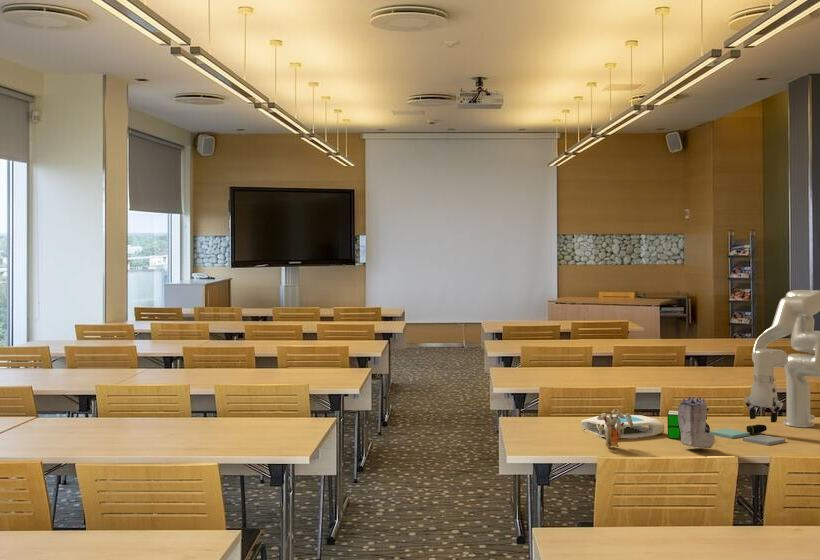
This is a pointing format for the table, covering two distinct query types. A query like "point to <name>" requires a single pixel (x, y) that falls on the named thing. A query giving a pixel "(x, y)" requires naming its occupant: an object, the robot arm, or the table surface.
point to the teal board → (729, 433)
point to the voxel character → (613, 427)
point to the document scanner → (638, 424)
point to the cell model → (694, 423)
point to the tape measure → (756, 429)
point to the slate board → (764, 439)
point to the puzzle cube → (673, 425)
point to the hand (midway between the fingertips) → (763, 420)
